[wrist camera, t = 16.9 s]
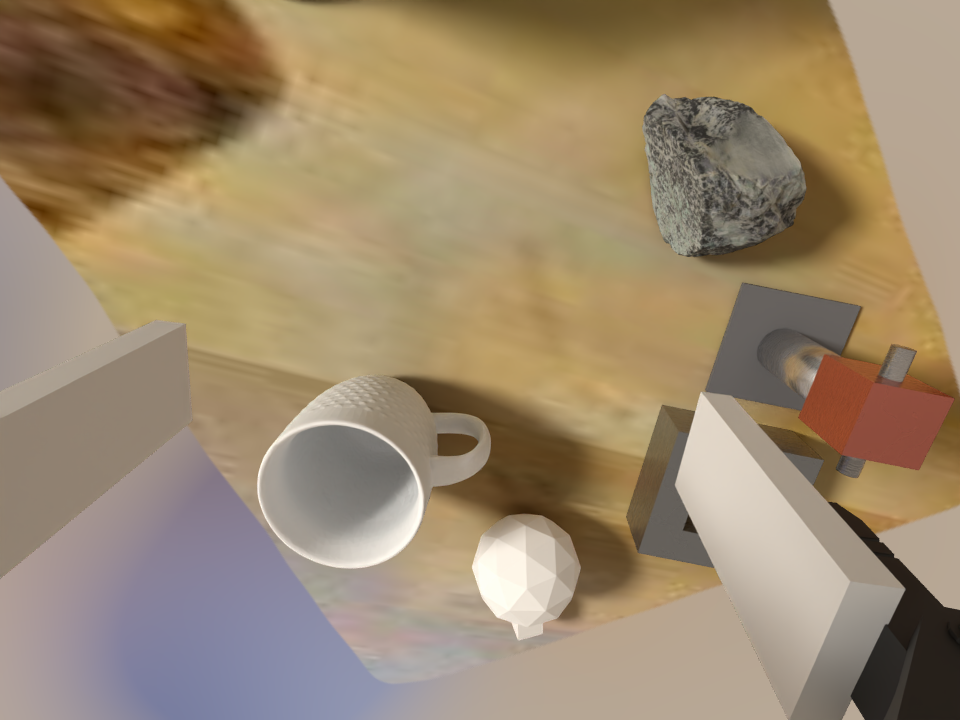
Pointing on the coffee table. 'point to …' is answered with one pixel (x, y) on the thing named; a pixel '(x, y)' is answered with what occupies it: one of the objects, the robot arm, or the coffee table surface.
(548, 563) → the perfume bottle
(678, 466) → the block
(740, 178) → the stone
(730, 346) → the mat
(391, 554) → the mug
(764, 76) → the coffee table surface
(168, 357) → the robot arm
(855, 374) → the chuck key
